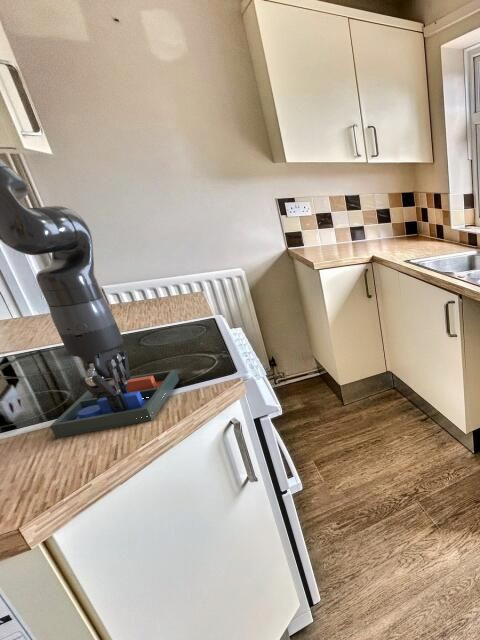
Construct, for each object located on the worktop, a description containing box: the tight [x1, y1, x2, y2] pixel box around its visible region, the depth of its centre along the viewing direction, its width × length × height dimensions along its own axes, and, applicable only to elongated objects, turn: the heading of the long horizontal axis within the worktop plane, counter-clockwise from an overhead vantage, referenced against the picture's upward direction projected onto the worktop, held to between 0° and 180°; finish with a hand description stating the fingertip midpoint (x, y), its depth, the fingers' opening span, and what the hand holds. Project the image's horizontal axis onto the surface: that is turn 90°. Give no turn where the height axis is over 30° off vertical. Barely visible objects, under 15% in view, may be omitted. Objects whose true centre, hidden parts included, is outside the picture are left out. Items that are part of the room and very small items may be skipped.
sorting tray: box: [49, 369, 180, 439], centre depth 84 cm, size 14×18×3 cm
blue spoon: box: [77, 391, 144, 419], centre depth 80 cm, size 10×4×3 cm, turn 113°
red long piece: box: [127, 376, 157, 392], centre depth 88 cm, size 10×4×3 cm, turn 113°
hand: (123, 408), depth 81 cm, fingers closed on blue spoon
